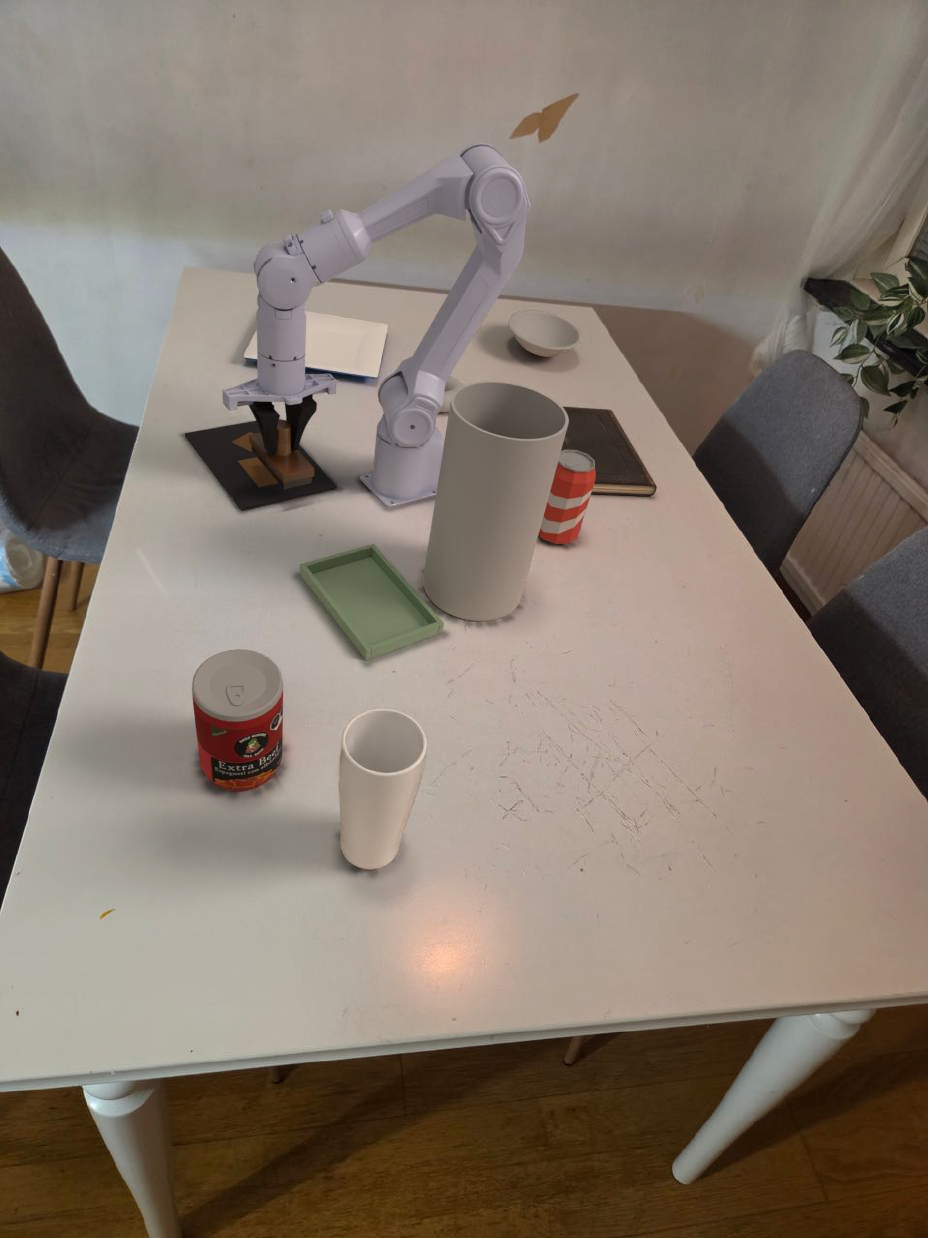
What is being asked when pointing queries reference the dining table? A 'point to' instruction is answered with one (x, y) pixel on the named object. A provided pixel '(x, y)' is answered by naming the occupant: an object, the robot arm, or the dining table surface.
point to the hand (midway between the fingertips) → (281, 448)
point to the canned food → (238, 718)
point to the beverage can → (568, 497)
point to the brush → (283, 458)
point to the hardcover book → (607, 452)
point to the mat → (249, 467)
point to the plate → (339, 345)
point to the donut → (449, 392)
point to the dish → (544, 332)
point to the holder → (370, 601)
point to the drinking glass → (378, 784)
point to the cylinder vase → (491, 497)
